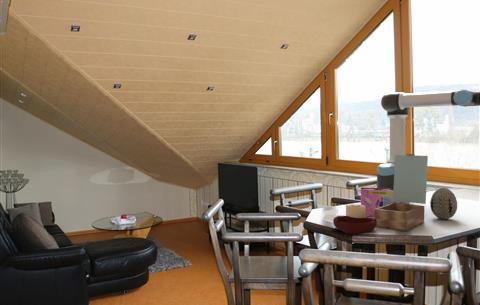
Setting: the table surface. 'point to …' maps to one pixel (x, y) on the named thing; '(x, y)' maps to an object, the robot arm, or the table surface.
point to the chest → (399, 216)
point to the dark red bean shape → (354, 224)
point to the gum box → (376, 199)
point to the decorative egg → (443, 203)
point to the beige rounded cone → (355, 210)
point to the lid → (410, 178)
